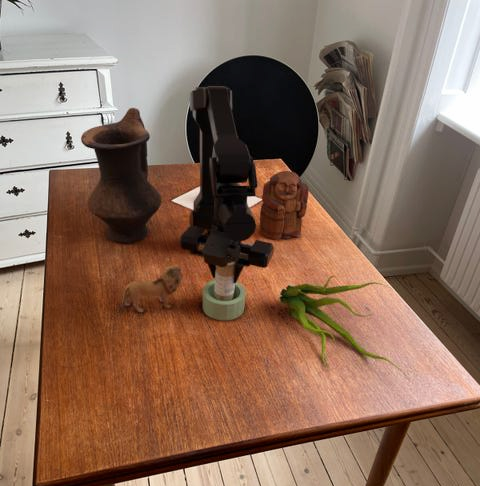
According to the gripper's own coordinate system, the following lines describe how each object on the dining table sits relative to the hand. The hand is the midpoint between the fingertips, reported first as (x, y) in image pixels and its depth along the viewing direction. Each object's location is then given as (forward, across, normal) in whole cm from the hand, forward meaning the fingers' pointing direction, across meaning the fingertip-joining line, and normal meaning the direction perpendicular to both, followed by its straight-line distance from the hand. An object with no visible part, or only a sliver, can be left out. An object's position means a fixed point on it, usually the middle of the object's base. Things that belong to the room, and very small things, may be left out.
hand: (224, 279), depth 107 cm
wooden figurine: (+8, +4, +37) cm, 38 cm away
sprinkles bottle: (+6, 0, 0) cm, 6 cm away
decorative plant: (+8, +26, -1) cm, 27 cm away
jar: (+8, 0, 0) cm, 8 cm away
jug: (+8, -34, +21) cm, 41 cm away
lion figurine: (+8, -15, -5) cm, 18 cm away
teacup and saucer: (+8, -19, +49) cm, 53 cm away
